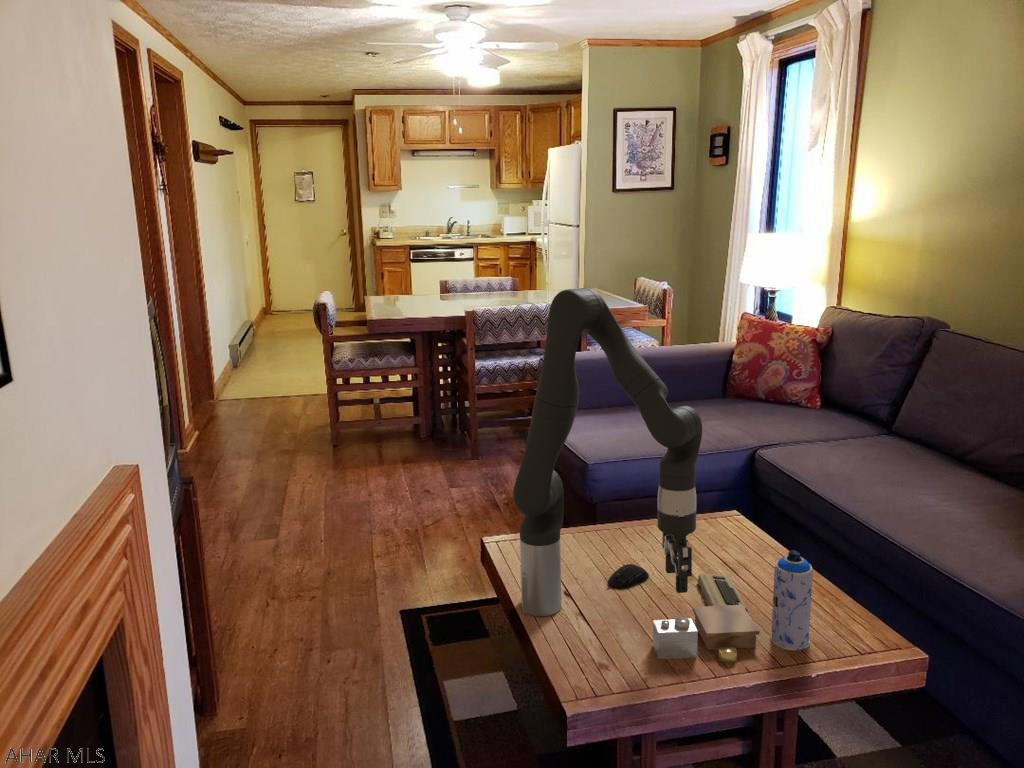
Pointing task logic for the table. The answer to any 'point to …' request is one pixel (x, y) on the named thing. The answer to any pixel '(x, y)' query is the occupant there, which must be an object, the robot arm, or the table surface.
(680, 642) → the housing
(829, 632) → the table surface
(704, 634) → the stand
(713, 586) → the computer
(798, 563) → the aerosol can
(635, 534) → the table surface
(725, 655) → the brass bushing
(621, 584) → the gaming mouse
